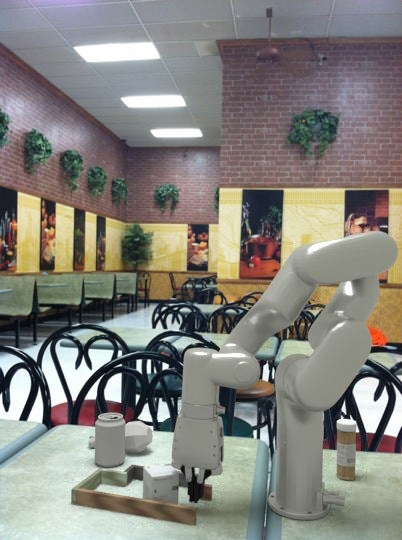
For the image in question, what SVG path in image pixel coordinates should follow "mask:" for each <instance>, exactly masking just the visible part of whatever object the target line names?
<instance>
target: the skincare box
mask: <svg viewBox="0 0 402 540" xmlns="http://www.w3.org/2000/svg"><path fill="white" fill-rule="evenodd" d="M145 466H146V465H145ZM178 471H179V470H178V469H176V468H173V467H172V466H171V463H168V462H167V463H161V464H154V465H147V466H146V467H143V481H142V499H148V500H154V501H160V502H166V503H172V504H178V505H179V496H180V495H179V494H180V493H179V488H180V487H179V472H178Z"/></svg>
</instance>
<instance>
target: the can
mask: <svg viewBox="0 0 402 540" xmlns="http://www.w3.org/2000/svg"><path fill="white" fill-rule="evenodd" d="M125 425H126V420H125V419H124V415H123V414H122V413H118V412H106V413H101V414H99V415H98V416H97V420H96V421H95V423H94V434H95V448H94V462H95V463H96V464H97V465H98V466H99V467H101V468H114V467H117V466H120V465H121V464H122V463H123V462H124V461H125V460H126V459H125V458H126V451H125Z"/></svg>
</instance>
